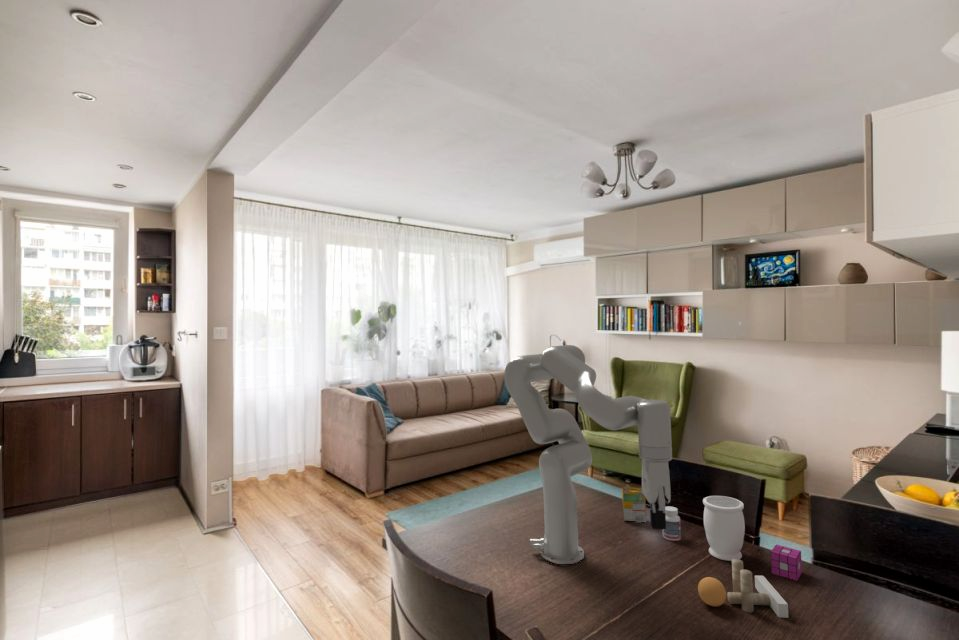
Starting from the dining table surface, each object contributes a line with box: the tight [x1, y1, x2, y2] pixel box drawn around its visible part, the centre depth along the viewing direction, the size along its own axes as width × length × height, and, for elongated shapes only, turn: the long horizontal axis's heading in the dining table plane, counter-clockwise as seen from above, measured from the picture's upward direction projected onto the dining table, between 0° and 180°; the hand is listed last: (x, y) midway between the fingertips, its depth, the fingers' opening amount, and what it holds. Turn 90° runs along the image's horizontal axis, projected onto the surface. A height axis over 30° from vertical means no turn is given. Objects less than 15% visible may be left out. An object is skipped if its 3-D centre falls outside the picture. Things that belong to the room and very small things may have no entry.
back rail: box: [754, 575, 789, 619], centre depth 110 cm, size 2×12×3 cm, turn 172°
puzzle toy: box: [770, 544, 803, 582], centre depth 122 cm, size 6×6×6 cm
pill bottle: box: [662, 505, 682, 542], centre depth 145 cm, size 5×5×9 cm
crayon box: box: [621, 486, 647, 524], centre depth 158 cm, size 7×3×12 cm, turn 77°
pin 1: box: [731, 559, 744, 592], centre depth 113 cm, size 2×2×8 cm
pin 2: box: [740, 568, 755, 613], centre depth 108 cm, size 2×2×8 cm
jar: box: [702, 495, 746, 562], centre depth 133 cm, size 11×10×15 cm
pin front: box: [726, 591, 770, 606], centre depth 110 cm, size 2×2×8 cm
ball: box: [697, 576, 727, 608], centre depth 110 cm, size 6×6×6 cm
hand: (658, 527), depth 113 cm, fingers closed
